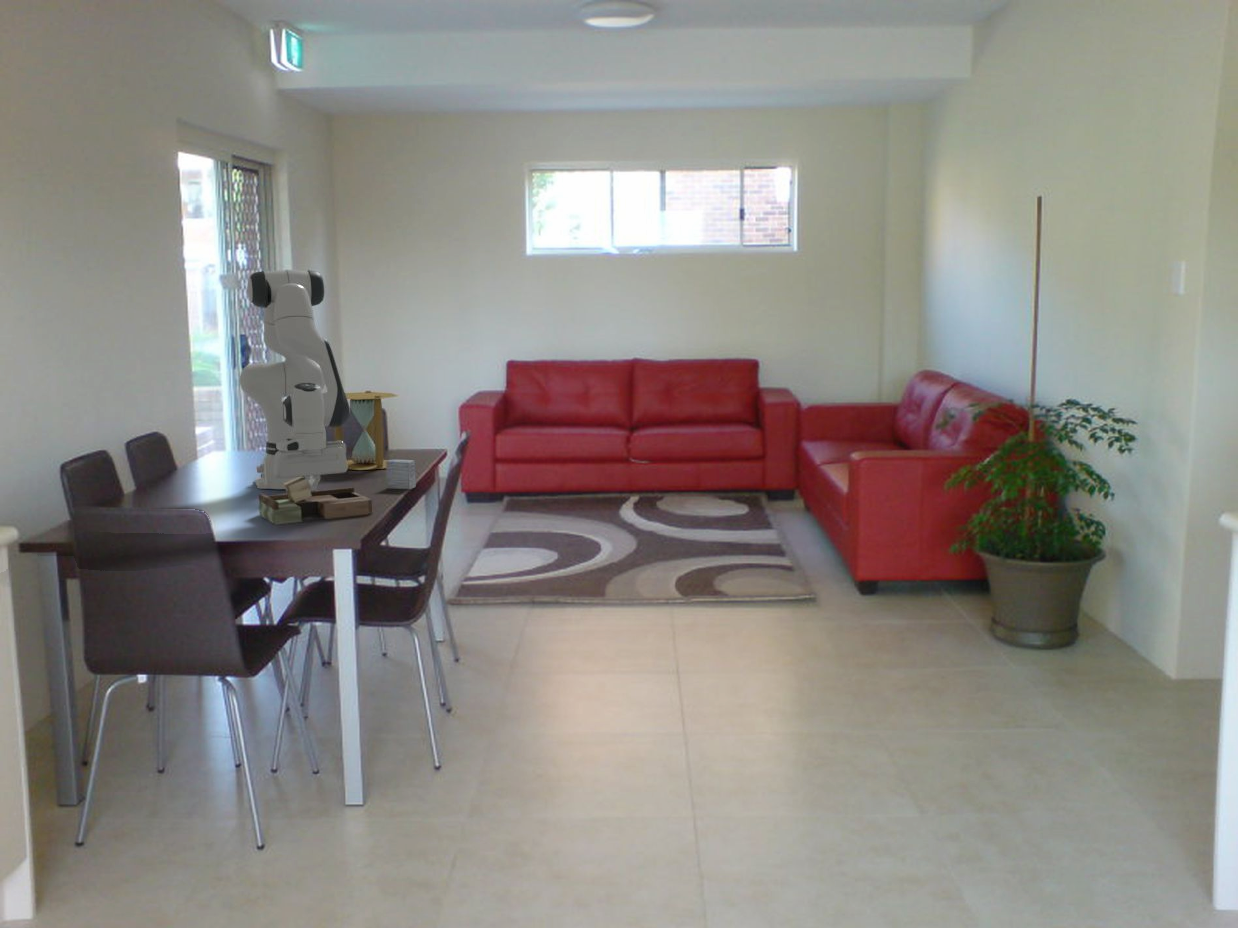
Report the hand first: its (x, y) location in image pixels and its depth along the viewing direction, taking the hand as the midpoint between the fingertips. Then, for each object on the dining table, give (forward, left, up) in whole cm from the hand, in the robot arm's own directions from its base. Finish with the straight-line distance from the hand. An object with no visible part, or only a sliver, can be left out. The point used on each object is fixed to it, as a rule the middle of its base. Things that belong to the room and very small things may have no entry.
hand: (312, 491), depth 330 cm
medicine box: (-24, +36, -7) cm, 44 cm away
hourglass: (-71, +42, -7) cm, 83 cm away
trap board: (+2, 0, -6) cm, 6 cm away
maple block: (0, -3, -2) cm, 4 cm away
